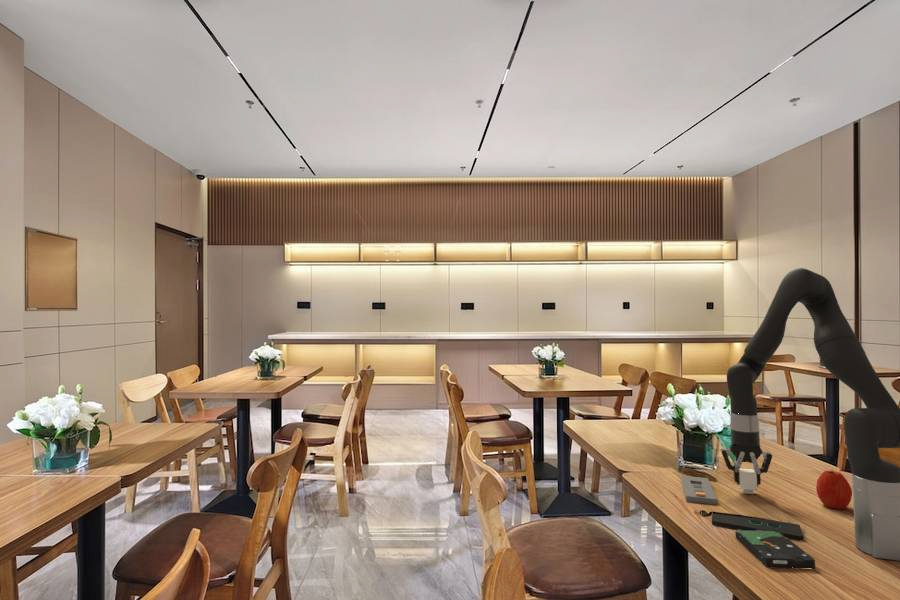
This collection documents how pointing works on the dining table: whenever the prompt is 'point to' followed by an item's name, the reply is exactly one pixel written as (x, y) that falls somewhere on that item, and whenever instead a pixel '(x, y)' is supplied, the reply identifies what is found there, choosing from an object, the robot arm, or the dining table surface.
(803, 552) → the disk drive
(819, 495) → the apple
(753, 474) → the charger
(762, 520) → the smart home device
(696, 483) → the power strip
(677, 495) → the dining table surface
